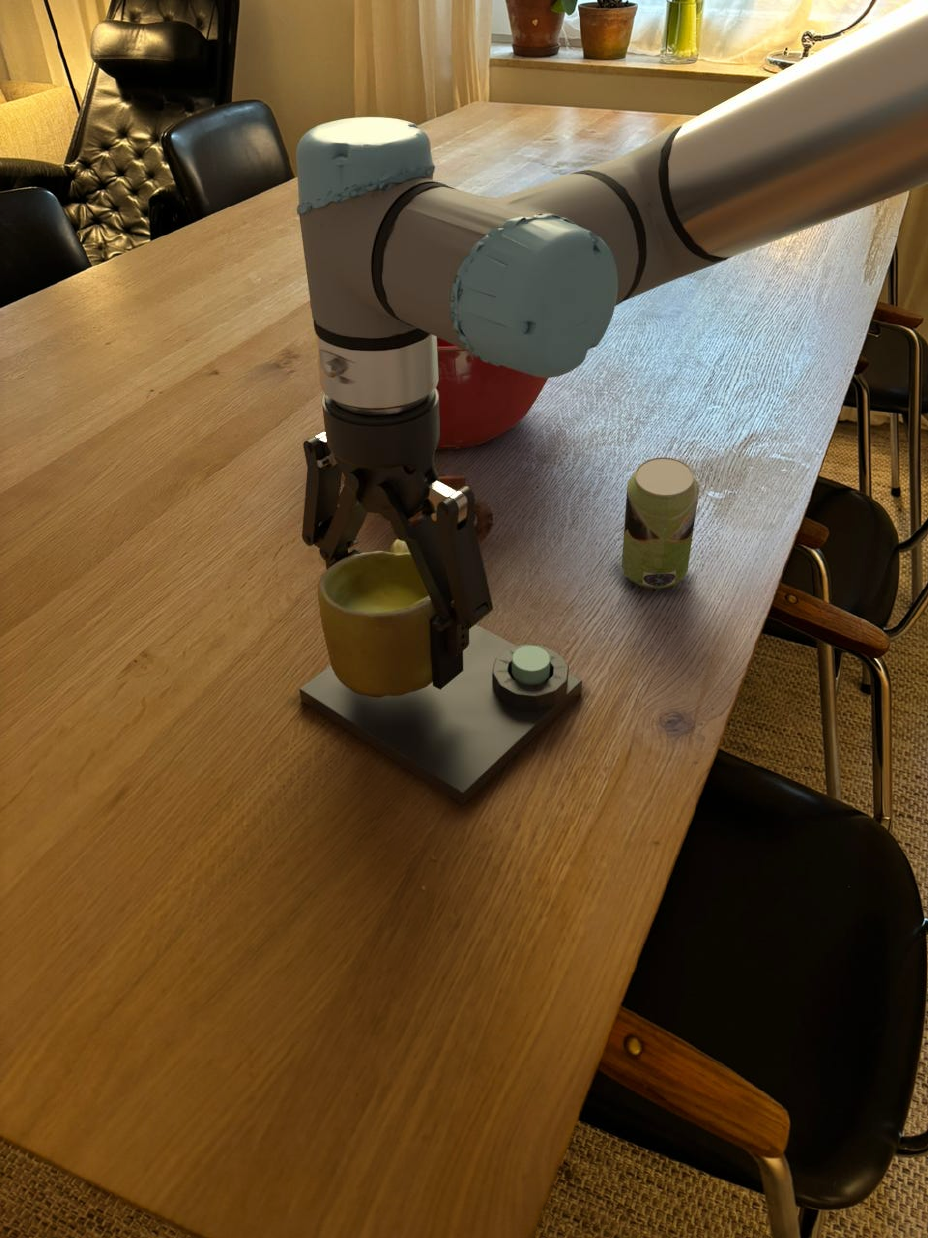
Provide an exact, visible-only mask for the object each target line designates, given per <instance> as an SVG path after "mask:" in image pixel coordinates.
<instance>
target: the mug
mask: <svg viewBox="0 0 928 1238" xmlns="http://www.w3.org/2000/svg"><path fill="white" fill-rule="evenodd" d="M396 539H397V540H396V541H395V542H394V543H393V545H392V544H391V545H390V546H391V547H390V551H384V550H376V551H369V552H361V554H354V555H352V556H349V557H346V558H344V559H342V560H340V561H339V562H337V563H335V564H334V565H332V566H331V567H330V568H328V569H327V570H325V571H324V572H323V573H322V575H321V576H320V578H319V581H318V584H317V585H318V586H317V599H318V606H319V616H320V621H321V627H322V631H323V632H322V633H323V636H324V641H325V646H326V650H327V654H328V660H329V663H330V665H331V667H332V669H333V671H334V673H335V675H336V677H337V678H338V679H339V681H340V682H341V683H343V684H344V685H345V686H346V687H347V688H349V689H350V690H351V691H353V692H355V693H357V694H360V695H367V696H371V697H377V698H379V697H384V696H400V695H404V694H406V693H410V692H414V691H417V690H420V689H422V688H425V687H427V686H428V685H429V684H431V683H432V682H433V679H432V657H431V635H430V619H431V618H433V617H434V616H435V615H436V614H437V612H436V610H435V608H434V606H433V603H432V601H431V599H430V597H429V594H428V592H427V590H426V588H425V585H424V583H423V581H422V579H421V576H420V574H419V572H418V570H417V567H416V565H415V563H414V561H413V558H412V556H411V554H410V552H409V549H408V547H407V545H406V543H405V542H404V541H401V540H399V539H398V538H396Z"/></svg>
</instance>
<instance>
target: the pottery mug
mask: <svg viewBox="0 0 928 1238" xmlns="http://www.w3.org/2000/svg"><path fill="white" fill-rule="evenodd" d="M438 476H439V480H440V483H442V484H444V485H446V486H448V487H449V488H451V489H453V490H455V491H457V490H459V489H460V488H462V487H464V486H467V481H468V477H467V476H463V475H445V474H442V475H441V474H438ZM421 515H422V510H421V511H420V512H419V513H418V514H416V515H415V516H413V517H412V518H410V519H409V520H407V521H408V523H409V524H410V523H411V522H413V521H414V520H416V519H417V518H419V517H420V516H421ZM494 519H495V518H494V512H493V509H492V508H491V506H490V505H489V504H488V503H487V502H486V501H485V500H483V499H480V498H475V505H474V516H473V520H474V522H475V521H476V524H475V529H476V533H477V537H478V542H479V543H481V542H483V541H484V540H485V539H487V537H488V536H489V535H490V533H491V531H492V529H493V526H494V525H495V521H494ZM397 539H398V538H394V539H392V540H391V546H392V545H393V543H394V542H395V541H396V540H397Z"/></svg>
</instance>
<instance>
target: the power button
mask: <svg viewBox="0 0 928 1238" xmlns="http://www.w3.org/2000/svg"><path fill="white" fill-rule="evenodd" d="M549 674H550V656H549V654H548V652H547V651H545V650H544V649H542V648H540V647H537V646H524V647H521V648H519V649H517V650H516V651H515V652H514V654H513V656H512V675H513V677H514V679H515V680H516V681H518V682H519V683H521V684H525V685H538V684H541V683H543V682H545V681H546V680H547V679H548V677H549Z"/></svg>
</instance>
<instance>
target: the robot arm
mask: <svg viewBox="0 0 928 1238" xmlns="http://www.w3.org/2000/svg"><path fill="white" fill-rule="evenodd" d="M295 152H296V153H295V162H296V173H297V177H296V178H297V193H298V204H297V206H296V213H297V215H298V216H299V225H300V232H301V240H302V241H301V242H302V247H303V255H304V264H305V270H306V278H307V286H308V287H307V288H308V293H309V294H308V295H309V303H310V302H311V306H310V309H311V317H312V320H313V321H312V322H313V329H314V340H315V349H316V358H317V365H318V366H317V367H318V376H319V384H320V388H321V391H322V392H323V395H322V397H321V406H322V407H321V408H322V417H323V424H324V430H323V431H321V432H318V433H317V434H315V435H314V436H312V437H310V438H308V439H306V440H304V441H303V444H302V447H303V451H304V457H305V463H306V468H307V471H306V481H305V492H304V503H303V504H304V506H303V515H302V516H303V517H302V529H301V538H302V541H303V543H304V544H305V545H306V546H308V547H312V546H314V545H315V546H316V548H318V549H319V550H318V552H319V556H320V558H321V559H322V560H323V561H324V562H325V569H326V570H327V569H328V568H330V567H331V566H332V565H334V564H335V563H337V562H339V561H340V560H342V559H344V558H346V557H349V556H352V555H354V554H361V553H362V552H361V551H359V550H357V549H355V548H354V549H353V550H350V551H349V549H351V548H352V547H354V546H355V545H356V544H358V543H359V542H360V540H357V537H358V535H359V533H360V531H361V529H362V527H363V525H364V523H365V521H366V519H367V517H368V514H369V513H371V514H376V515H379V516H380V517H382V518H383V519H384V520H386V522H389V523H390V525H391V528H392V530H393V532H394V534H395V537H396V539H399V540H401V541H404V542H405V543H406V545H407V547H408V549H409V552H410V554H411V556H412V558H413V561H414V563H415V565H416V567H417V570H418V572H419V574H420V576H421V579H422V581H423V583H424V585H425V588H426V590H427V592H428V594H429V597H430V599H431V601H432V603H433V606H434V608H435V610H436V612H437V614H436V615H435V616H434V617H433V618H431V619H430V635H431V657H432V679H433V686H434V687H436V688H438V689H440V690H441V689H442V688H443V687H444V686H446V685H447V684H448V683H449V682H450V681H452V680H453V679H454V678H455V677H456V676H458V675H459V674H460V673H461V672H462V671H463V650H465V649H466V648H467V647H468V645H469V629H470V628H471V627H473V626H474V625H475V624H476V625H478V623H479V622H480V621H482V620H483V619H484V618H485V617H487V616H488V615H489V614H490V613H491V612H493V610H494V605H493V600H492V596H491V591H490V588H489V582H488V578H487V574H486V569H485V565H484V560H483V556H482V550H481V545H480V542H478V537H477V533H476V529H475V526H476V524H475V521H474V520H473V516H474V505H475V499H476V495H475V492H474V491H473V489H472V488H470V487H469V486H467V485H466V486H464V487H462V488H460V489H459V490H457V491H455V490H453V489H451V488H449V487H448V486H446V485H444V484H442V483H440V480H439V476H438V475H439V474H438V471H437V469H436V466H435V462H434V457H435V453H436V451H437V449H436V447H437V445H438V441H439V437H440V421H439V394H438V391H437V389H436V386H437V384H438V381H439V375H438V354H437V337H438V338H440V339H442V340H444V341H447V342H449V343H451V344H453V345H455V346H457V347H459V348H461V349H463V350H465V351H467V352H470V353H472V354H473V355H474V356H476V357H479V358H480V359H481V360H482V361H484V362H486V363H488V362H489V363H491V364H493V365H495V366H501V365H503V366H505V367H507V368H511V369H514V370H517V371H520V372H523V373H526V374H529V375H532V376H535V377H542V378H548V379H550V378H552V379H553V378H557V377H561V376H563V375H566V374H568V373H571V372H572V371H574V370H575V369H577V368H578V367H579V366H581V365H582V364H583V363H584V362H585V359H586V357H587V354H588V351H589V350H590V349H593V348H597V347H598V345H599V344H600V343H601V341H602V339H603V338H604V336H605V334H606V333H607V331H608V328H609V326H610V323H611V321H612V318H613V315H614V312H615V307H617V306H618V305H620V304H622V303H623V302H625V301H628V300H630V299H633V298H635V297H637V296H640V295H642V294H645V293H646V292H649V291H651V290H654V289H657V288H658V287H660V286H663V285H665V284H668V283H670V282H673V281H675V280H677V279H680V278H683V277H686V276H689V275H691V274H693V273H696V272H698V271H701V270H704V269H706V268H710V267H712V266H714V265H718V264H720V263H722V262H725V261H727V260H728V259H731V258H733V257H735V256H739V255H740V254H744V253H746V252H749V251H751V250H755V249H757V248H759V247H763V246H765V245H768V244H770V243H773V242H776V241H778V240H781V239H784V238H786V237H789V236H792V235H794V234H798V233H800V232H802V231H805V230H808V229H810V228H811V229H812V228H813V227H816V226H818V225H821V224H823V223H826V222H830V221H832V220H834V219H837V218H840V217H842V216H846V215H848V214H850V213H854V212H856V211H859V210H861V209H864V208H867V207H870V206H872V205H875V204H877V203H880V202H883V201H885V200H888V199H891V198H894V197H897V196H899V195H902V194H904V193H907V192H909V191H913V190H915V189H918V188H920V187H923V186H925V185H928V0H911V1H908V2H907V3H905V4H903V5H901V6H900V7H898V8H895V9H894V10H892V11H890V12H888V13H887V14H885V15H883V16H881V17H879V18H876V19H875V20H873V21H872V22H869V23H868V24H865V25H864V26H863V27H860V28H859V29H856V30H855V31H853V32H851V33H849V34H848V35H846V36H843V37H842V38H840V39H838V40H836V41H834V42H832V43H831V44H829V45H827V46H825V47H823V48H822V49H820V50H817V51H816V52H814V53H812V54H810V55H809V56H807V57H805V58H803V59H801V60H800V61H799V60H798V61H797V62H796V63H794V64H792V65H790V66H788V67H786V68H785V69H783V70H781V71H779V72H777V73H775V74H774V75H771V76H770V77H768V78H766V79H764V80H762V81H760V82H759V83H757V84H755V85H753V86H751V87H750V88H747V89H746V90H744V91H742V92H740V93H738V94H736V95H734V96H733V97H730V98H729V99H727V100H725V101H723V102H721V103H720V104H718V105H715V106H714V107H712V108H711V109H708V110H707V111H705V112H703V113H701V114H699V115H697V116H696V117H693V118H692V119H690V120H688V121H686V122H684V123H683V124H682V125H679V126H677V127H674V128H672V129H671V130H668V131H667V132H665V133H663V134H660V135H659V136H658V137H655V138H654V139H652V140H650V141H648V142H646V143H645V144H643V145H641V146H638V147H637V148H635V149H633V150H631V151H629V152H627V153H625V154H623V155H620V156H617V157H615V158H612V159H611V160H608V161H605V162H602V163H600V164H598V165H595V166H593V167H589V168H587V169H584V170H579V171H575V172H573V173H570V174H567V175H563V176H561V177H557V178H554V179H551V180H548V181H546V182H542V183H540V184H537V185H534V186H531V187H528V188H525V189H522V190H518V191H517V192H513V193H511V194H507V195H505V196H499V197H489V196H488V197H487V196H483V195H479V194H474V193H472V192H467V191H465V190H461V189H457V188H455V187H452V186H450V185H447V184H445V183H442V182H439V181H436V180H434V174H435V172H436V171H435V170H436V166H435V164H434V162H433V156H432V149H431V141H430V138H429V136H428V134H427V133H426V132H424V131H423V130H422V129H421V127H419V126H418V125H417V124H416V123H413V122H411V121H408V120H404V119H398V118H394V117H383V116H360V117H349V118H342V119H338V120H332V121H328V122H324V123H320V124H318V125H316V126H315V127H313V128H311V129H309V130H308V131H306V132H305V133H304V134H303V135H302V136H301V138H300V139H299V141H298V144H297V147H296V151H295ZM342 476H343V477H344V480H343V486H342V478H343V477H342ZM341 486H342V489H341ZM421 510H422V515H421V516H420V517H419V518H417V519H416V520H414V521H413V522H411V523H410V524H409V523H408V521H407V520H409V519H410V518H412V517H413V516H415V515H416V514H418V513H419V512H420V511H421ZM326 570H325V571H326Z"/></svg>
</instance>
